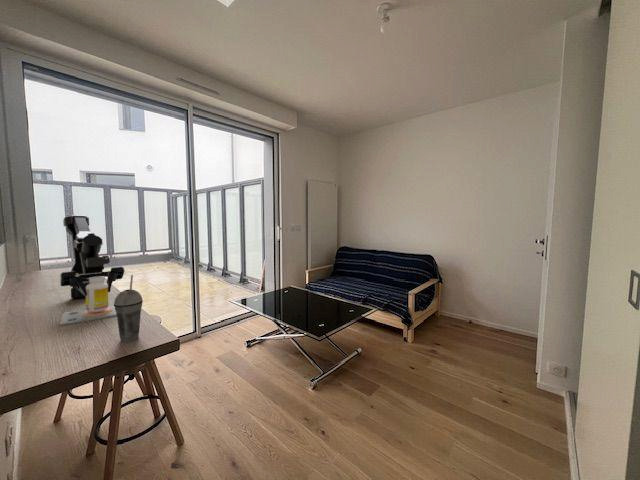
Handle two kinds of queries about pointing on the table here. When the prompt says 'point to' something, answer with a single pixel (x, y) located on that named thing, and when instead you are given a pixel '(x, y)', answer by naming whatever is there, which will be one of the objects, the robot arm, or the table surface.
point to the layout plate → (86, 315)
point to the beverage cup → (128, 313)
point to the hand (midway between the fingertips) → (97, 293)
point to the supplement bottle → (96, 294)
